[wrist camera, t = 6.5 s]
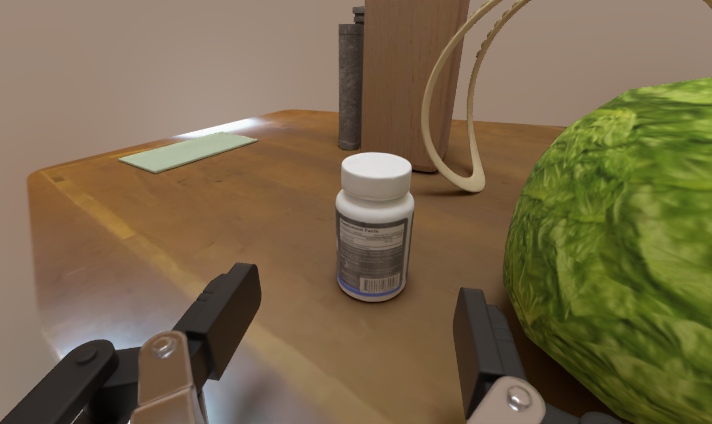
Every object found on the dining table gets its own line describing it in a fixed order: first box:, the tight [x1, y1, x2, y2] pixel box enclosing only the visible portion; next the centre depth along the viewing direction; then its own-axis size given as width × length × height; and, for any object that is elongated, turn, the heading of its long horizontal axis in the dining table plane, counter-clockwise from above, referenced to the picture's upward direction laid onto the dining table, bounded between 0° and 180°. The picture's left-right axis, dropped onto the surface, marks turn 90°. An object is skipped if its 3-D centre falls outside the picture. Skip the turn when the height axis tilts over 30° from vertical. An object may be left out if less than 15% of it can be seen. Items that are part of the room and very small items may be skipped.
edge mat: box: [118, 132, 257, 174], centre depth 47 cm, size 16×8×1 cm, turn 149°
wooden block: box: [361, 0, 470, 172], centre depth 41 cm, size 10×10×20 cm
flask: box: [339, 6, 365, 150], centre depth 50 cm, size 4×14×18 cm, turn 155°
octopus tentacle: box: [421, 0, 712, 192], centre depth 29 cm, size 22×12×20 cm, turn 51°
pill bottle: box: [335, 152, 414, 302], centre depth 21 cm, size 5×5×8 cm
